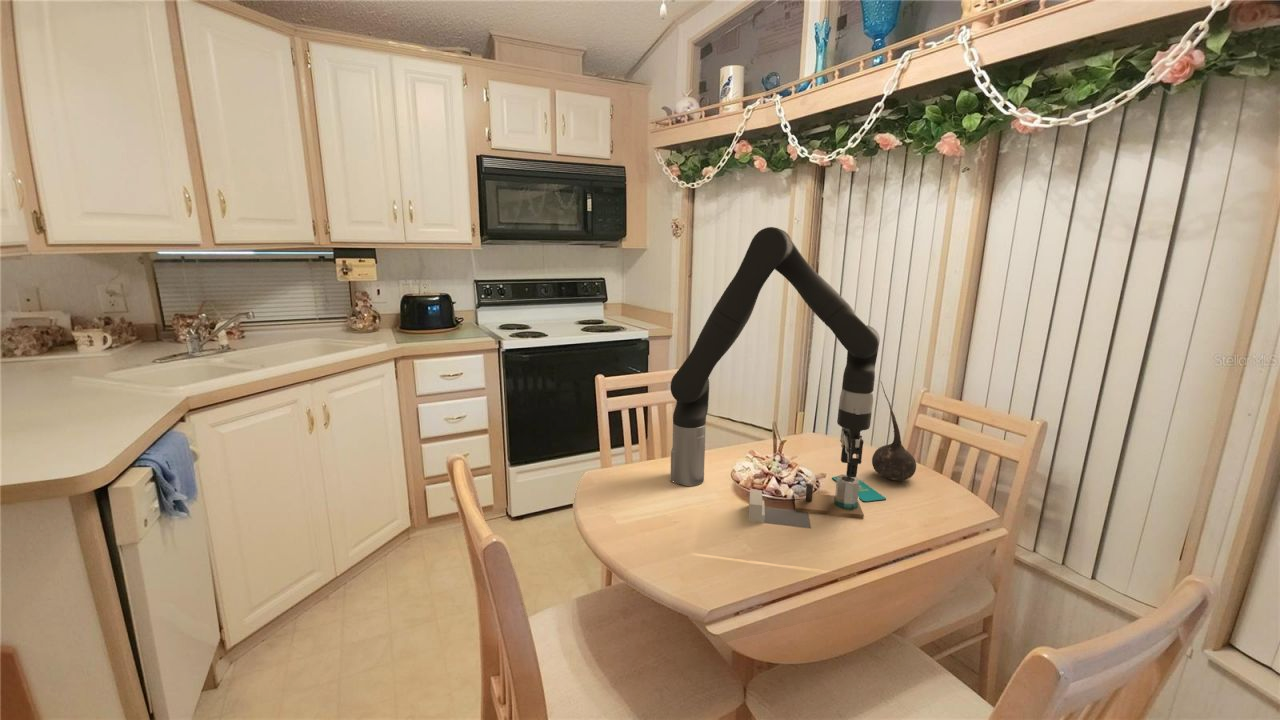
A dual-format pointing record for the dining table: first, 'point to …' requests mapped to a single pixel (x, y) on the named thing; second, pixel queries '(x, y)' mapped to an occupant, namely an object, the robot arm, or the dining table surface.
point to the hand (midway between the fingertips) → (848, 469)
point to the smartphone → (867, 493)
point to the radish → (894, 457)
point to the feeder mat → (774, 513)
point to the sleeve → (846, 492)
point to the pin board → (824, 505)
